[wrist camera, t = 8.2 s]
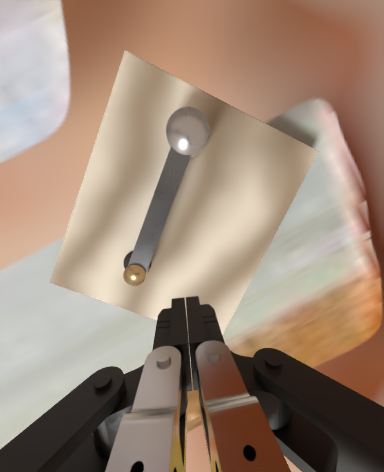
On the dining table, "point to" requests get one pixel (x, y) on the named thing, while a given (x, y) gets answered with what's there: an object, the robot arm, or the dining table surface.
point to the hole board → (178, 199)
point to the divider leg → (168, 186)
